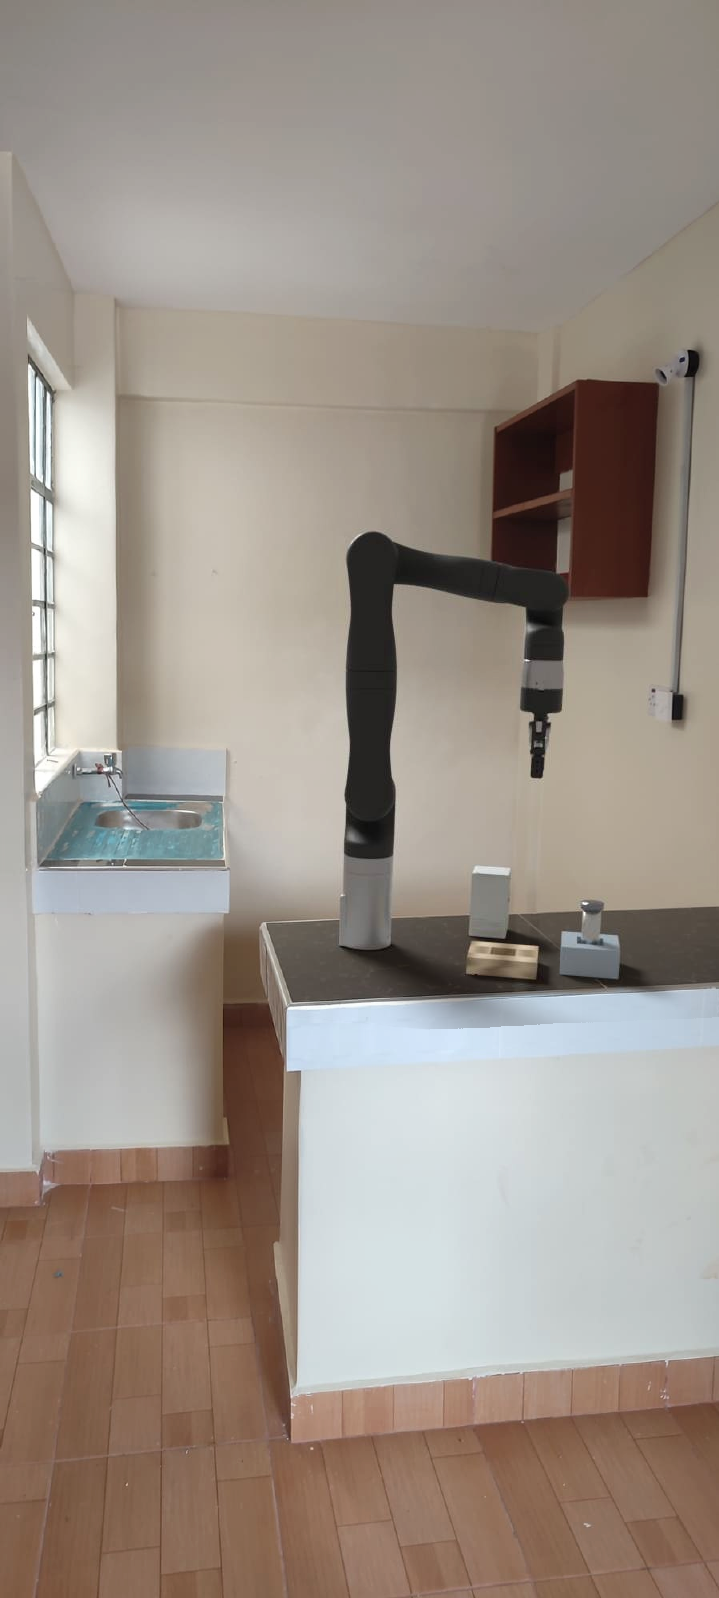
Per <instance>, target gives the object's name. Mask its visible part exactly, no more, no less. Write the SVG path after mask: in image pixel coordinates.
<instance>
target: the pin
mask: <svg viewBox="0 0 719 1598" xmlns="http://www.w3.org/2000/svg"><path fill="white" fill-rule="evenodd" d="M580 908H581V910H582V918H581V919H582V920H581V932H580V933H581V944H589V945H599V940H600V934H601V924H602V923H601V921H602V911H604V909H605V902H604V901H602V900H601V901H600V900H596V899H583V900H581V901H580Z"/></svg>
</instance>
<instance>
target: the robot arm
mask: <svg viewBox="0 0 719 1598" xmlns="http://www.w3.org/2000/svg"><path fill="white" fill-rule="evenodd" d="M345 561H346V568H347V578H348V579H347V580H348V585H349V586H348V588H349V600H350V601H349V602H350V618H349V627H348V634H347V636H348V637H347V645H346V659H345V661H346V662H345V699H346V700H345V701H346V702H345V703H346V707H345V708H346V718H347V727H348V729H347V730H348V737H349V755H348V762H347V763H348V766H347V774H346V780H345V781H346V782H345V788H344V793H343V794H344V795H343V796H344V802H345V827H344V838H343V872H342V873H343V875H342V876H343V877H342V879H343V880H342V894H341V895H340V896H339V923H338V924H339V925H338V926H339V927H338V928H339V930H338V931H339V932H338V933H339V934H338V939H339V940H338V946H342V947H346V948H349V949H353V950H362V951H376V950H381V949H385V948H387V947H390V946H391V937H392V908H393V907H392V906H393V877H394V876H393V875H394V848H395V830H396V829H395V826H396V800H397V799H396V797H397V795H396V794H397V792H396V791H397V789H396V788H397V787H396V784H395V781H394V779H393V776H392V775H393V774H392V762H391V739H392V733H393V732H392V731H393V727H394V719H395V713H396V702H397V689H398V688H397V687H398V659H397V646H396V645H397V644H396V638H395V637H396V636H395V631H394V630H395V629H394V621H393V600H394V599H393V597H394V590H395V589H394V587H395V585H403V586H404V585H406V586H416V587H420V588H426V589H432V590H435V591H440V592H444V593H448V594H452V595H455V596H456V595H457V596H460V597H463V598H468V599H473V600H477V601H482V602H483V601H484V602H489V603H493V604H494V603H495V604H504V605H505V604H508V605H513V606H518V607H522V608H525V610H524V611H525V635H524V645H523V646H524V648H523V649H524V650H523V663H522V669H521V676H520V677H521V678H520V679H521V682H520V697H519V699H520V700H519V709H520V711H522V712H525V713H531V714H532V715H533V720H532V721H531V720H530V721H528V733H529V734H528V735H529V736H528V746H529V747H530V749H529V755H530V778H532V779H543V777H544V770H545V762H546V761H545V760H546V759H545V758H546V752H547V749H548V747H549V741H550V734H551V731H552V730H551V729H552V722H551V721H549V715H548V714H558V713H561V712H563V711H562V710H563V698H564V696H563V695H564V682H565V681H564V678H565V676H564V675H565V671H564V652H565V634H564V633H565V632H564V630H563V621H564V620H563V619H564V618H563V616H564V606H565V604H566V603H567V602H568V600H569V596H570V588H569V585H568V582H567V580H566V579H565V578H564V577H563V576H562V575H560V574H559V573H557V572H553V571H549V570H544V569H543V570H542V569H537V568H536V569H535V568H527V567H517V566H513V565H510V564H507V563H502V562H498V561H494V560H493V561H492V560H489V559H488V560H487V559H482V558H476V557H469V556H460V555H450V554H449V555H448V554H439V553H435V552H434V553H433V552H430V551H429V552H427V551H422V550H419V549H415V548H412V547H409V546H406V545H403V544H401V543H398V542H396V541H393V540H392V539H391V538H390V537H389V536H388V535H386V534H384V533H382V532H379V531H375V530H370V531H365V532H362V533H360V534H358V535H357V536H355V538H354V539H352V541H351V542H350V544H349V545H348V547H347V550H346V555H345Z"/></svg>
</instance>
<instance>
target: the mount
mask: <svg viewBox="0 0 719 1598" xmlns="http://www.w3.org/2000/svg"><path fill="white" fill-rule="evenodd" d="M538 959H539V946H538V945H528V944H527V945H526V944H514V943H501V942H491V941H490V942H489V941H475V940H471V941H470V945H469V949H468V952H467V955H466V967H465V968H466V971H465V974H466V975H475V974H477V976H489V977H498V978H501V977H502V978H514V979H526V980H535V981H536V980H537V971H538V965H539V964H538V961H539V960H538Z"/></svg>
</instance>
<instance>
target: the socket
mask: <svg viewBox="0 0 719 1598" xmlns="http://www.w3.org/2000/svg"><path fill="white" fill-rule="evenodd" d="M560 939H561V941H560V955H559V956H560V957H559V961H560V963H559V975H563V976H564V975H565V976H573V977H574V976H577V977H586V978H587V977H588V978H600V979H611V980H619V974H620V961H621V960H620V959H621V947H620V946H621V945H620V940H619V935H617V934H605V933H602V934H601V933H600V940H599V945H589V944H581V932H580V931H579V932H577V931H565V930H564V931H563V930H562V931H561V938H560Z"/></svg>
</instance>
